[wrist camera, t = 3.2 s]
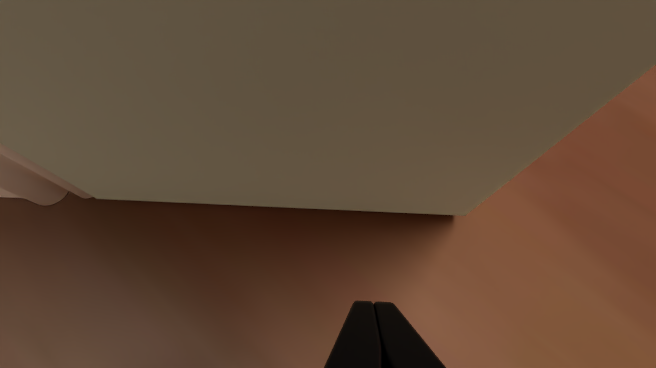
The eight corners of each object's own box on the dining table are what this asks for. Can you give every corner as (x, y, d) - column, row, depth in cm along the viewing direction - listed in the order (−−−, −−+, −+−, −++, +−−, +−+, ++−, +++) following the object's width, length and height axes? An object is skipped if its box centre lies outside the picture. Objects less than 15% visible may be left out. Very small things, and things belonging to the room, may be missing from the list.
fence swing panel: (71, 197, 16) (-521, -113, 5) (79, 172, 16) (-443, -166, 5) (465, 215, 16) (805, -56, 5) (462, 189, 16) (768, -114, 5)
